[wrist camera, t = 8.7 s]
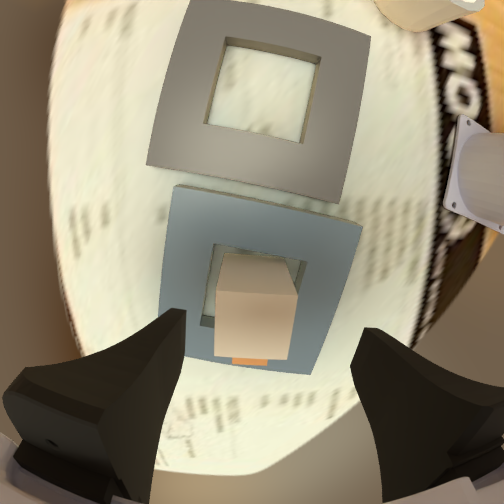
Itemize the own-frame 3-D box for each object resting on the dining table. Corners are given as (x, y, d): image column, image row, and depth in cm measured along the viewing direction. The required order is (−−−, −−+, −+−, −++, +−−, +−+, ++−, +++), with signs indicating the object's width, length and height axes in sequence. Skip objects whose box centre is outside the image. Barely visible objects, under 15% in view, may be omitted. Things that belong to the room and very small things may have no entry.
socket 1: (363, 43, 15) (370, 36, 14) (332, 201, 19) (338, 204, 17) (194, 7, 14) (191, -3, 13) (153, 164, 18) (145, 165, 16)
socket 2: (354, 222, 19) (362, 226, 18) (307, 363, 23) (310, 374, 21) (179, 184, 18) (173, 186, 17) (160, 338, 22) (156, 349, 20)
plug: (283, 257, 20) (298, 295, 14) (275, 318, 21) (284, 370, 16) (224, 252, 20) (215, 290, 14) (221, 315, 21) (213, 367, 15)
